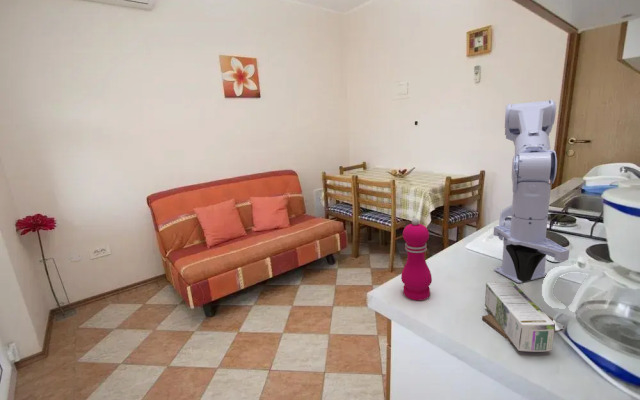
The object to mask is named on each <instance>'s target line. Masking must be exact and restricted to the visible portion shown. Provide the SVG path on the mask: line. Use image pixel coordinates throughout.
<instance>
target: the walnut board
mask: <svg viewBox="0 0 640 400" xmlns="http://www.w3.org/2000/svg"><path fill="white" fill-rule="evenodd" d="M547 316H548V317H549V318H550V319H551V320H552V321H553V319H554V318H553V317H551V316H549V315H547ZM481 320H482V321H483V322H485V324H487V325H488V326H490V328H492V329H494V331H496V332H498V334H500V335H501V336H503V337H504V338H505V340H506V339H507V340H508V341H509V342H510V343H511V344H513V342H512V341H511V340H510V338H509V337H508V336H507V334H506V333H505V332H504V330H503V329H502V328H501V326H500V325H499V324H498V322H497V321H496V320H495V318H494V317H493V316H492V314H491V313H489V314H486V315H482V316H481ZM554 333H556V332H555V328H554Z"/></svg>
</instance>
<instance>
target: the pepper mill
mask: <svg viewBox="0 0 640 400" xmlns="http://www.w3.org/2000/svg"><path fill="white" fill-rule="evenodd" d="M402 238H403V240H404V241H405V243H404V246H405V248H404V249H405V250H406V253H407V259H406V262H405V263H404V267H403V269H402V271H401V279H400V280H401V282H402V284H403V295H404V296H405V297H406V298H407V299H410V300H413V301H424V300H427V299H428V298H429V297H430V294H431V288H430V285H431V284H432V281H433V277H432V273H431V270H430V268H429V267H428V264H427V261H426V256H425V254H426V253H425V252H426V251H427V250H428V248H427V246H428V243H427V242H428V240H429V238H430V232H429V230H428V228H427V227H426V225H424V224H421V223H420V220H419V218H418V217H413V218H412V219H411V223H409V224H408V225H406V226H404V229H403V231H402Z"/></svg>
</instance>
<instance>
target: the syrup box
mask: <svg viewBox="0 0 640 400" xmlns="http://www.w3.org/2000/svg"><path fill="white" fill-rule="evenodd" d="M484 306H485V307H486V309H487V311H488V312H489V314H492V316H493V317H494V318H495V320H496V321H497V322H498V324H499V325H500V326H501V328H502V329H503V330H504V332H505V333H506V334H507V336H508V337H509V338H510V340H511V341H512V342H513V343H512V342H511V343H512V344H513V345H514V346H515V348H516V349H517V350H518V352H519V351H520V352H535V353H536V352H537V353H538V352H541V353H542V352H551V351H553V350H552V349H553V342H554V335H555V334H554V333H555V332H554V328H555V323H554V322H553V321H552V320H551V319H550V318H549V317H550V316H549V315H548V314H546V313H545V312H544V311H543V310H542V309H541V308H539V306H538V305H537V304H536V303H535V302H534V301H533V300H532V299H531V298H529V296H527V294H526V293H525V292H523V291H522V289H521V288H519V287H518V286H517V284H515V283H514V281H513V282H512V281H511V282H510V281H507V282H487V283H485V297H484ZM548 316H549V317H548Z"/></svg>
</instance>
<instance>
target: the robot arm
mask: <svg viewBox="0 0 640 400" xmlns="http://www.w3.org/2000/svg"><path fill="white" fill-rule="evenodd" d="M556 103H557V102H556V101H555V100H554V99H549V100H542V101H532V102H531V101H530V102H520V103H508V104H507V105H506V106H505V115H504V135H505V139H506V140H508V141H511V142H513V145H514V155H513V157H512V164H511V181H512V202H511V204H510V205H509V206H507V207H505V208H504V209H502V210H501V212H500V215H499V224H498V225H497V226H493V235H494V236H496V237H498V239H499V241H502V242H503V243H502V244H503V245H502V248H503V249H502V250H503V251H502V262H501V263H502V266H498V267H495V268H494V269H493V270H494V271H495V272H497V273H498V274H500V275H501V276H503V277H505V278H508V279H509V280H511V281H513V282H515V283H517V284H522V283H525V282H529V281H533V280H536V279H541V278H544V277H546V276H545V275H546V274H547V273H546V272H545V270H546V269H545V268H546V261H547V259H546V258H547V256H549V257H551V258H553V259H554V260H555V261H557V262H559V263H560V262H564V261H568V260H569V258H570V257H569V256H570V249H568V248H566V247H563V246H562V245H560V244H558V243H557V242H556V241H553V240H552V239H550V238H548V237H547V231H548V230H547V229H548V219H549V210H550V198H551V189H552V184H554V182H555V179H556V177H557V169H558V159H557V153H556V150H554V149H551V143H550V138H549V136H550V134H551V132H552V130H553V126H554V124H555V121H556V113H557V112H556V109H557V105H556ZM550 182H551V183H550Z"/></svg>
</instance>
